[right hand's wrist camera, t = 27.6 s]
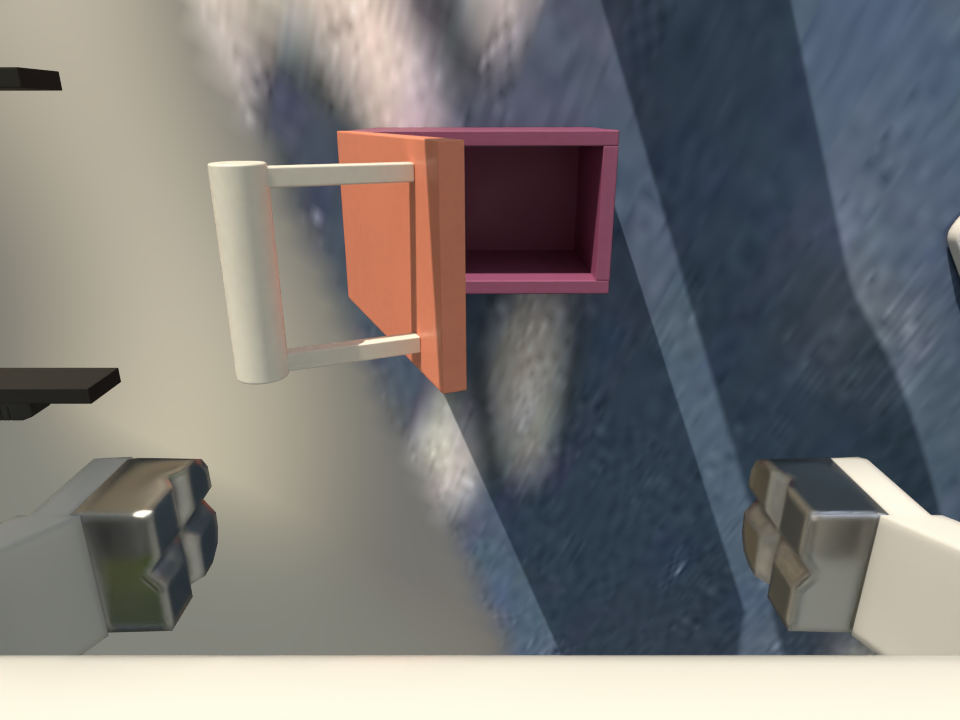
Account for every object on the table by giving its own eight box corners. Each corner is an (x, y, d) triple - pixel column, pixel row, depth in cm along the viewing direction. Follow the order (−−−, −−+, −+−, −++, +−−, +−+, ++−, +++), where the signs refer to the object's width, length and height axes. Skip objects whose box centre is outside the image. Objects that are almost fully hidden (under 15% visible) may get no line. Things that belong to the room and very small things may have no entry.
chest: (590, 127, 46) (619, 130, 37) (583, 258, 50) (608, 293, 40) (375, 127, 46) (347, 130, 37) (382, 259, 50) (358, 294, 40)
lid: (465, 139, 23) (207, 143, 20) (467, 390, 26) (246, 427, 23) (355, 130, 36) (193, 132, 33) (365, 295, 39) (218, 311, 36)
